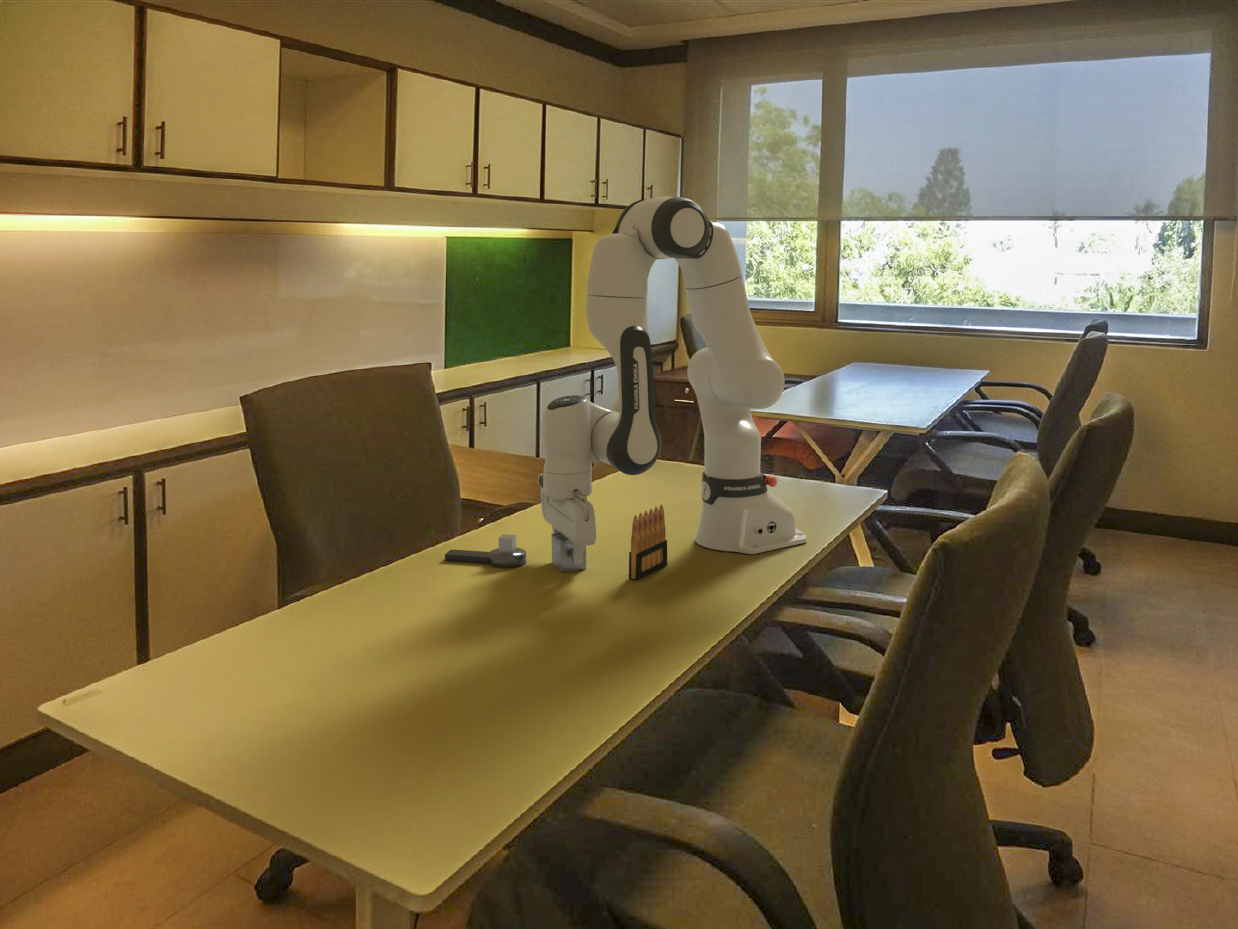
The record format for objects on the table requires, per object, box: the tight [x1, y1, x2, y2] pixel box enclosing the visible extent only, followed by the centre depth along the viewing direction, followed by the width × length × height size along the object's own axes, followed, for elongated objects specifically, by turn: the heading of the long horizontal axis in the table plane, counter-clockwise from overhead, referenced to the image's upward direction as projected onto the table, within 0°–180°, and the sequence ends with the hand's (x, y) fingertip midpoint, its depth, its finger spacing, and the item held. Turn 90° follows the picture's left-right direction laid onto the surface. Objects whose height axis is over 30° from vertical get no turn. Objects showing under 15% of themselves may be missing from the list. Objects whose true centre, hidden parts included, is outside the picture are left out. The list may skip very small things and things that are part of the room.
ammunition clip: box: [628, 504, 668, 582], centre depth 197 cm, size 11×2×12 cm, turn 146°
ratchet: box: [444, 534, 527, 570], centre depth 204 cm, size 16×7×5 cm, turn 78°
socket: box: [551, 533, 587, 573], centre depth 201 cm, size 5×5×6 cm
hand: (568, 555), depth 201 cm, fingers open, 8 cm apart
